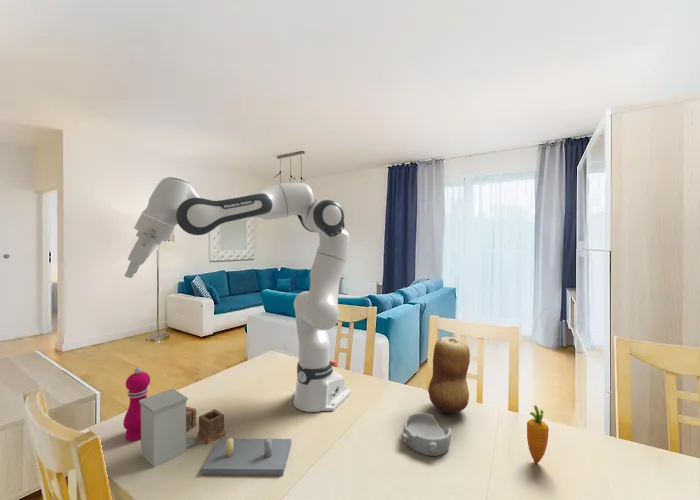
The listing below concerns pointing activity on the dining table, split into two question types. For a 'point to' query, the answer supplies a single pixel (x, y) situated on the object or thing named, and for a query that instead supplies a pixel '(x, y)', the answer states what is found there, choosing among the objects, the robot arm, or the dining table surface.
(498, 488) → the dining table surface
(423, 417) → the dish
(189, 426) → the sleeve
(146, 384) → the pepper mill
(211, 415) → the sleeve
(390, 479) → the dining table surface
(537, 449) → the carrot
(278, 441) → the pin board
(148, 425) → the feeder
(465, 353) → the butternut squash
